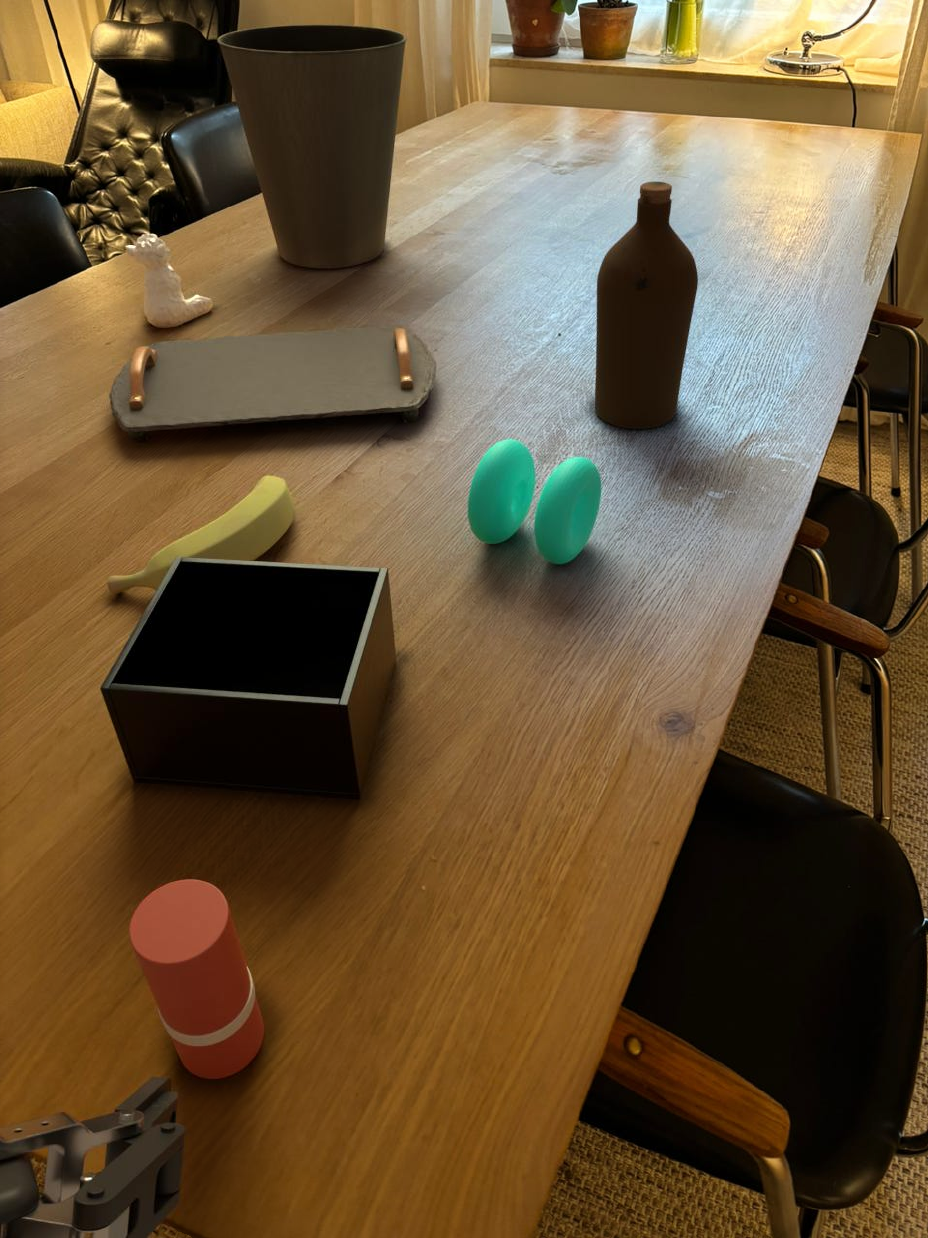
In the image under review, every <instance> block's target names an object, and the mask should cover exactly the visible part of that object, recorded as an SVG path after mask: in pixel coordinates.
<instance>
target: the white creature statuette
mask: <svg viewBox="0 0 928 1238" xmlns="http://www.w3.org/2000/svg"><path fill="white" fill-rule="evenodd" d="M124 247H125V249H126V251H127V254H128V256H129V257H130V258H134V261H135V262H136V263H138V264H140V265H141V266H143V267H144V268H145V269H147V270H146V271H145V276H144V277H143V288H144V297H143V302H142V303H143V308H142V311H143V314H144V316H145V318H146V321H147V322H148V323H149V324H151V325H152V326H154V327H156V328H163V329H167V328H168V329H169V328H175V327H176V328H177V327H178V326H182V325H183V324H184V323H188V322H190V321H192V320H193V319H194V320H195V319H196V318H198V317H200V316H202V315H206V314H207V313H210V310H211V309H212V308H213V305H214V304H213V301H212V299H211V298H210V297H206V296H202V295H200V294H194V295H193V296H191V297H190V298H186V299H185V295H184V294H183V293H182V289H181V288H182V286H181V283H182V278H181V277H180V275H178V274H177V273H176V271H175V269H174V268H173V266H171V264H170V263H169V262H170V261H171V260H172V257H171V250H170V249H169V248H168V247H167V244H166V243H165V242H164V241H163V239H161V238H159V237H158V235H157V234H154V233H146V234H144V233H143V234H141V236H139V237H137V239H136V242H135V245H129V244H128V245H125V246H124Z"/></svg>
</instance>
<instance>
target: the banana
mask: <svg viewBox="0 0 928 1238" xmlns="http://www.w3.org/2000/svg"><path fill="white" fill-rule="evenodd" d="M295 515H296V506H295V502H294V499H293V495H292V493H291V491H290V488H289V486H288V483H287V482H286V480H285V479H284V478H282V477H279V476H275V475H264V476H262V477H261V478H260V479H259V480H258V481H257V483H256V484H255V485H254V488H253V490H251V492H249V493H248V494H247V495H246V496H245V497H244V498H243V499H241V500H240V501H239V502H238V503H237V504H236V505H235V504H234V506H233V507H231V508H230V509H229V510H227V511H226V512H225V513H223V514H222V515H221V516H219V517H217V518H216V519H214V520H212V521H211V522H209V523H207V524H205V525H204V526H202V527H200V528H198V529H197V530H195V531H193V532H191V533H188V534H187V535H184V536H183V537H181V538H179V539H177V540H175V541H172V542H171V543H169V544H168V545H166V546H165V547H163V548H162V549H160V550H159V551H157V552H156V553H155V554H154V555H153V556H152V557H151V558H150V559H149V561H148V562H147V564H146V566H145V568H144V569H143V570H141V571H139V572H136V573H134V574H130V575H110V576H109V577H108V579H107V583H106V584H107V588H108V590H109V592H110V593H111V594H112V595H118V594H120V593H122V592H124V591H126V590H129V589H133V588H149V589H152V590H155V591H156V590H157V589H158V587H159V585H160V584H161V582H162V580H163V578H164V577H165V575H166V573H167V571H168V570H169V568H170V566H171V564H172V563H173V561H174V559H175V558H176V557H182V558H183V557H186V558H205V559H224V560H242V561H256V560H257V559H258V558H260V557H261V556H262V555H263V554H265V553H266V552H267V551H268V550H270V549H271V548H272V547H273V546H274V545H275V544H276V543H277V542H278V541H279V540H280V539H281V538H282V537H283V536H284V534H285V533H286V532H287V531H288V530H289V528H290V527H291V525H292V523H293V521H294V519H295Z"/></svg>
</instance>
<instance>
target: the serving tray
mask: <svg viewBox="0 0 928 1238" xmlns="http://www.w3.org/2000/svg"><path fill="white" fill-rule="evenodd" d="M436 372H437V363H436V360H435V358H434V354H433V353H432V352H431V351H430V350H429V349H428V346H427V345H426V343H425V342H424V341H423V339H421V338H420V337H418V335H417V334H416V333H413V332H412V330H411V329H409V328H407V327H404V326H402V325H384V326H383V325H382V326H381V325H380V326H364V327H350V328H349V327H348V328H332V329H331V328H330V329H323V330H313V331H287V332H286V331H285V332H273V333H261V334H260V333H259V334H251V335H249V334H248V335H237V336H236V335H227V336H220V337H219V336H218V337H211V338H198V339H182V340H181V339H180V340H170V341H169V340H164V341H157V342H153V343H151V344H149V345H147V346H138V347H137V348H136V349H135V351H134V353H133V355H132V357H131V358H130V359H129V361H128V362H126V364H124V365H123V366H122V369H121V371H119V373H118V374H116V376H115V377H114V381H113V384H112V386H111V389H110V392H109V397H108V398H109V404H110V409H111V412H112V416H113V417H115V419H116V421H117V424H118V426H119V428H121V429H122V430H123V431H125V432H127V433H128V434H127V435H128V437H129V438H130V439H131V440H132V441H133V443H135V444H138V445H140V444H144V443H145V442H146V441H147V439H148V436H149V432H152V431H165V430H177V429H193V428H204V427H206V428H207V427H218V426H227V425H228V426H229V425H248V424H257V423H258V424H259V423H274V422H275V423H276V422H282V421H283V422H284V421H287V422H288V421H297V420H311V419H312V420H313V419H322V418H323V419H324V418H337V417H345V416H346V417H348V416H360V415H376V414H387V413H388V414H389V413H399V414H400V417H401V418H402V419H403V421H404V422H405V423H408V424H411V423H415V422H416V419H417V418H418V417H419V408H420V407H421V406H422V405H423V404H424V403H425V402H426V401H427V400H428V398H429V396H430V393H431V392H432V391H433V388H434V386H435V384H436V380H435V378H436V374H437V373H436Z"/></svg>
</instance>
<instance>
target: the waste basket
mask: <svg viewBox="0 0 928 1238" xmlns="http://www.w3.org/2000/svg"><path fill="white" fill-rule="evenodd" d="M216 41H217V43H218V44H219V48H220V51H221V54H222V57H223V60H224V64H225V68H226V71H227V75H228V78H229V82H230V85H231V89H232V92H233V95H234V99H235V102H236V106H237V110H238V113H239V116H240V120H241V123H242V127H243V131H244V135H245V137H246V141H247V145H248V149H249V153H250V156H251V160H252V162H253V166H254V168H255V174H256V177H257V180H258V184H259V187H260V190H261V191H260V192H261V195H262V198H263V201H264V202H263V203H264V205H265V209H266V212H267V215H268V219H269V222H270V226H271V230H272V233H273V236H274V240H275V244H276V248H277V251H278V254H279V256H280V257H281V258H282V259H283V260H284V261H286V262H287V263H289V264H292V265H294V266H297V267H303V268H311V269H340V268H349V267H354V266H358V265H362V264H366V263H368V262H370V261H373V260H374V259H376V258H378V257H379V256H380V255H381V254H382V253H383V251H384V249H385V243H386V233H387V223H388V213H389V203H390V193H391V185H392V184H391V183H392V173H393V163H394V156H395V155H394V154H395V144H396V134H397V124H398V116H399V115H398V114H399V107H400V106H399V105H400V95H401V85H402V76H403V67H404V58H405V50H406V42H407V41H408V37H407V35H406V34H404V33H403V32H400V31H397V30H392V29H389V28H383V27H375V26H365V25H351V24H323V23H322V24H288V25H287V24H285V25H271V26H270V25H268V26H260V27H252V28H245V29H240V30H239V29H238V30H235V31H231V32H230V31H229V32H227V33H225V34H222V35H220V36H219V37H218V38H217V40H216Z"/></svg>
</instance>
